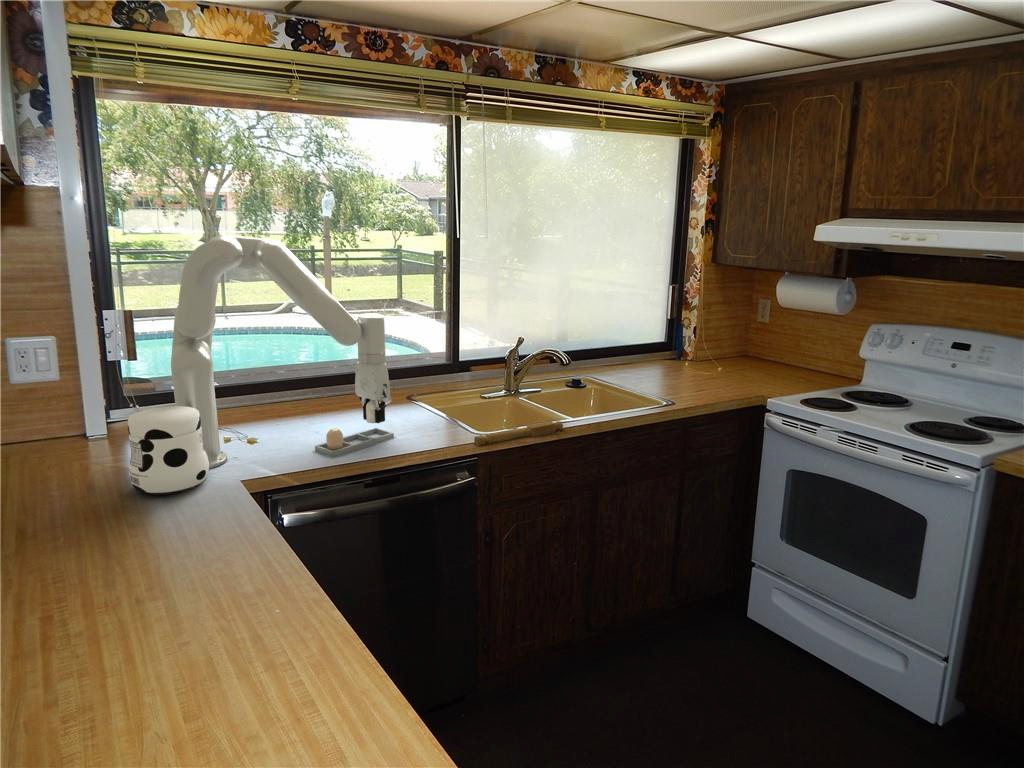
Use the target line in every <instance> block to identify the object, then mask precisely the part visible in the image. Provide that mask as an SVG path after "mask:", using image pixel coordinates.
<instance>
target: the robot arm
mask: <svg viewBox="0 0 1024 768" xmlns="http://www.w3.org/2000/svg"><path fill="white" fill-rule="evenodd" d="M182 268H183V269H182V273H181V280H180V288H179V295H178V304H177V307H176V308H175V312H174V322H173V333H172V342H171V343H172V344H171V345H172V346H171V355H170V357H171V358H170V368H171V369H170V370H171V380H172V385H173V395H174V402H175V403H174V406H184V407H191V408H195V409H197V410H198V411H199V414H200V419H201V428H202V441H203V446H204V449H205V452H206V454H207V457H208V460H209V469H213V468H215V467H219V466H221V465H223V464H224V463H226V462H227V461H228V455H227V453H226V452H224V451H221V444H220V433H219V424H218V423H219V422H218V411H217V402H216V392H215V381H214V379H215V378H214V363H213V358H212V344H213V343H212V342H213V332H214V328H215V326H216V321H217V320H216V307H217V306H216V303H217V296H218V295H217V294H218V289H219V282H220V278H221V277H222V276H223V274H225V273H226V272H228V271H231V270H234V269H241V270H254V271H263V273H264V274H265V275H267V276H268V277H269V278H270V279H271V280H272V281H273V282H274V283H275V284H276V286H278V287H279V289H281V290H282V292H284V293H285V294H286V295H287V296H288V298H290V299H291V300H292V301H293V302H294V304H296V306H298V307H299V308H300V309H302V310H303V311H304V312H305V313H307V314H308V316H309V315H310V317H312V319H314V321H316V322H317V323H318V324H319V325H320V326H321V327H322V328H323V329H324V330H325V331H326V332H327V333H328V335H329V336H330V337H331V338H332V339H333V340H334V341H336V343H338V345H341V346H344V347H351V346H354V345H356V344H357V355H358V356H357V357H358V359H357V360H358V361H357V362H356V366H355V378H354V384H355V385H354V390H355V391H354V392H355V394H356V396H358V398H359V400H360V402H361V403H360V404H361V406H362V413H363V420H365V421H367V419H366V405H367V403H368V402H369V401H371V400H375V404H376V410H375V423H374V424H381V423H383V422H385V421H386V412H385V411H386V408H387V406H388V405H389V404H390V403H391V402H392V401H393V399H392V397H391V394H390V390H391V389H390V379H389V378H390V377H389V370H388V365H387V363H386V362H387V361H386V336H385V333H386V331H385V330H386V329H385V318H384V316H383V315H382V314H380V313H372V312H370V313H361V314H351V313H349V312H348V311H347V310H346V309H345V307H343V306H342V304H341V303H340V302H339V301H338V300H336V298H335V297H334V296H333V295H332V294H331V293H330V292H329V291H328V289H327V288H326V287H325V286H324V285H323V284H322V283H321V281H319V279H318V278H317V277H316V276H315V275H314V274H313V273H312V272H311V271H310V270H309V269H308V268H307V267H306V265H304V263H302V262H301V261H300V260H299V258H298V257H296V256H295V255H294V253H293V252H292V251H291V250H289V248H287V246H286V245H285V244H284V243H282V242H280V241H278V240H276V239H273V238H263V237H262V238H259V237H248V236H241V235H228V234H217V235H215V236H213V237H212V238H210V240H209V241H206V242H204V243H202V244H201V245H199V246H198V247H196V248H195V249H194V250H193V251H192V252H191V253H190V254H189V255H188V257H187V259H186V261H185V263H184V265H183V267H182ZM380 401H381V402H380ZM379 402H380V403H379Z"/></svg>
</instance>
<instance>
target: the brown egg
mask: <svg viewBox="0 0 1024 768" xmlns="http://www.w3.org/2000/svg"><path fill="white" fill-rule="evenodd" d="M325 437H326V442H327V449H329V450H331V451H335V450H338V449H341V448H343V437H344V434H343V432H342V431H341V430H340V429H339V428H336V427H334V428H331V429H329V430H328V431H327V433H326V436H325Z"/></svg>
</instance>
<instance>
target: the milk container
mask: <svg viewBox="0 0 1024 768" xmlns="http://www.w3.org/2000/svg"><path fill="white" fill-rule="evenodd" d="M127 432H128V441H129V442H128V443H129V447H130V460H129V465H128V466H129V467H128V475H129V479H130V483H131V485H132V486H133V488H134V489H135V490H136V491H137V492H139V493H142V494H146V495H153V496H160V495H161V496H166V495H173V494H180V493H183V492H186V491H189V490H193V489H194V488H196V487H199V486H200V485H202V484H203V483H204V482H205V481H207V478H208V477H209V470H210V468H209V460H208V457H207V454H206V452H205V449H204V446H203V441H202V428H201V419H200V414H199V411H198V410H197V409H195V408H191V407H184V406H176V405H172V406H171V405H170V406H169V405H168V406H161V407H160V406H159V407H154V408H147V409H144V410H141V411H137V412H134V413H133V414H131V415H129V417H128V419H127Z"/></svg>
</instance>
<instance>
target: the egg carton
mask: <svg viewBox="0 0 1024 768" xmlns="http://www.w3.org/2000/svg"><path fill="white" fill-rule="evenodd" d="M394 435H395V434H394V432H393V431H388V430H385V429H381V428H379V427H373V428H369V429H367V430H363V431H360V432H356V433H354V434H350V435H346V436H343V448H341V449H338V450H335V451H331V450H329V449H327V441H326V442H324V443H321V444H317V445H314V449H313V450H312V452H313V453H316V454H319V455H321V456H323V457H327V458H330V459H335V458H338V457H341V456H345V455H347V454H350V453H354V452H358V451H361V450H363V449H366V448H370V447H373V446H376V445H379V444H382V443H385V442H387V441H391V440H395V439H397V438H398V437H397V436H394Z"/></svg>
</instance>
